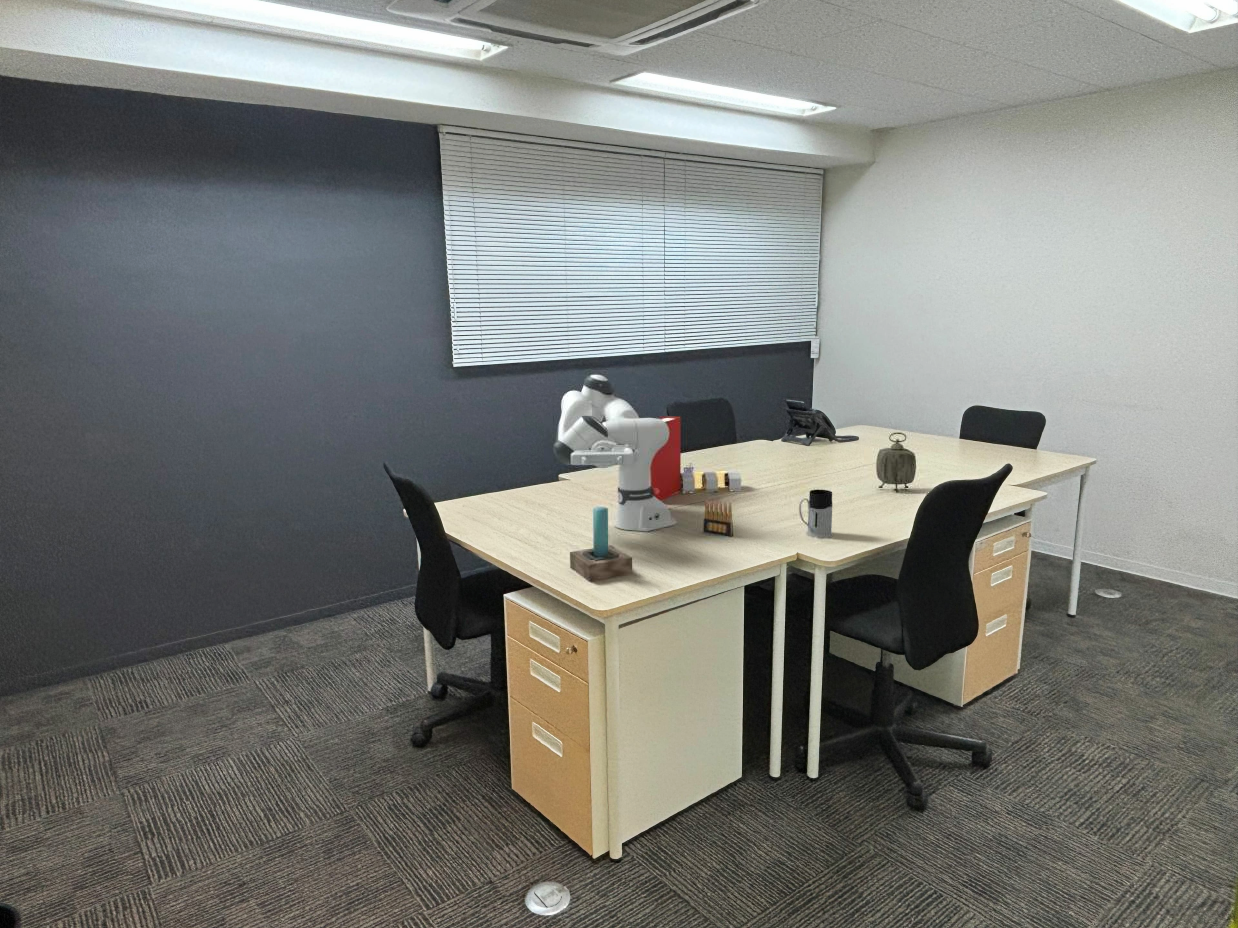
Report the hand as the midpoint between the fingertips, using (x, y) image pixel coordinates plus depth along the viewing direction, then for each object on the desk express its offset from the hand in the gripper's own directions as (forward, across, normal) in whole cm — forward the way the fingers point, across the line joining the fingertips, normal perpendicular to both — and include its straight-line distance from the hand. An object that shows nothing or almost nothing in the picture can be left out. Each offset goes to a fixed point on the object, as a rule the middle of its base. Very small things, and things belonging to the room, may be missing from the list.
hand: (601, 462), depth 241 cm
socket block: (+16, 0, +30) cm, 34 cm away
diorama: (-89, +42, +30) cm, 103 cm away
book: (-78, +20, +30) cm, 86 cm away
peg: (+16, 0, +29) cm, 33 cm away
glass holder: (-18, +71, +30) cm, 79 cm away
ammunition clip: (-22, +39, +30) cm, 54 cm away
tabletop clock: (-83, +120, +30) cm, 149 cm away
